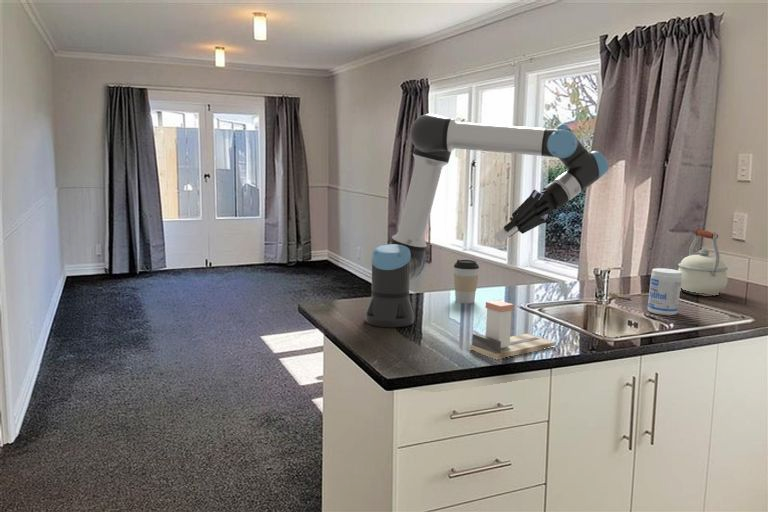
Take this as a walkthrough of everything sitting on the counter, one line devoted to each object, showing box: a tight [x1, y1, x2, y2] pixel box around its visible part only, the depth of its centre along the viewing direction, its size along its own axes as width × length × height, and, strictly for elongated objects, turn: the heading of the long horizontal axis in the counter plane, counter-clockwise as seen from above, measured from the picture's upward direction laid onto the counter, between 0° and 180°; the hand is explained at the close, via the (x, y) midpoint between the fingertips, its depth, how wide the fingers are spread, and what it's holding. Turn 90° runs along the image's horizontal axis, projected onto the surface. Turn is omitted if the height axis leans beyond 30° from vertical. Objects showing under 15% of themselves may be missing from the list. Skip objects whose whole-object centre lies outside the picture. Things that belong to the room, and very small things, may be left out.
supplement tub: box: [647, 267, 682, 316], centre depth 217 cm, size 10×10×15 cm
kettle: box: [677, 228, 729, 294], centre depth 252 cm, size 25×18×25 cm
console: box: [469, 332, 556, 361], centre depth 172 cm, size 22×10×4 cm, turn 124°
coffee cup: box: [453, 259, 480, 305], centre depth 227 cm, size 9×9×15 cm
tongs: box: [608, 292, 632, 301], centre depth 241 cm, size 4×13×2 cm, turn 36°
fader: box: [485, 300, 514, 348], centre depth 168 cm, size 5×6×11 cm
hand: (497, 239), depth 183 cm, fingers closed
